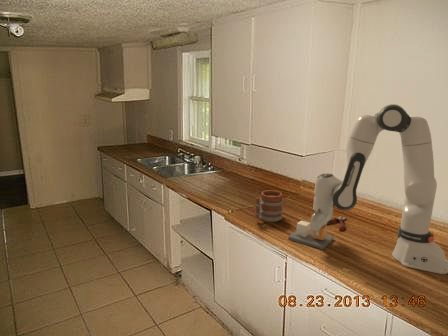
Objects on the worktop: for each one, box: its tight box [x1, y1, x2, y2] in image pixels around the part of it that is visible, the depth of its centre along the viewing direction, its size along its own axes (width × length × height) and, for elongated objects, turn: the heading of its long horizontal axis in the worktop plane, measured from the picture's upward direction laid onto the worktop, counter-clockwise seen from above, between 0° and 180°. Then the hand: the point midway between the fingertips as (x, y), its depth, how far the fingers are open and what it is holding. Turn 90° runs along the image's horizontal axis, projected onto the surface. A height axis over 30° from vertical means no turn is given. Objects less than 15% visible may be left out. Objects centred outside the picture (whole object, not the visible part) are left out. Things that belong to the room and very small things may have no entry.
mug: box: [254, 189, 284, 223], centre depth 193 cm, size 14×19×15 cm
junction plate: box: [287, 220, 334, 250], centre depth 168 cm, size 18×14×8 cm
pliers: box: [326, 215, 347, 232], centre depth 189 cm, size 12×20×3 cm, turn 142°
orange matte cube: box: [312, 224, 328, 240], centre depth 165 cm, size 5×5×6 cm
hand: (320, 232), depth 165 cm, fingers closed on orange matte cube, 5 cm apart
